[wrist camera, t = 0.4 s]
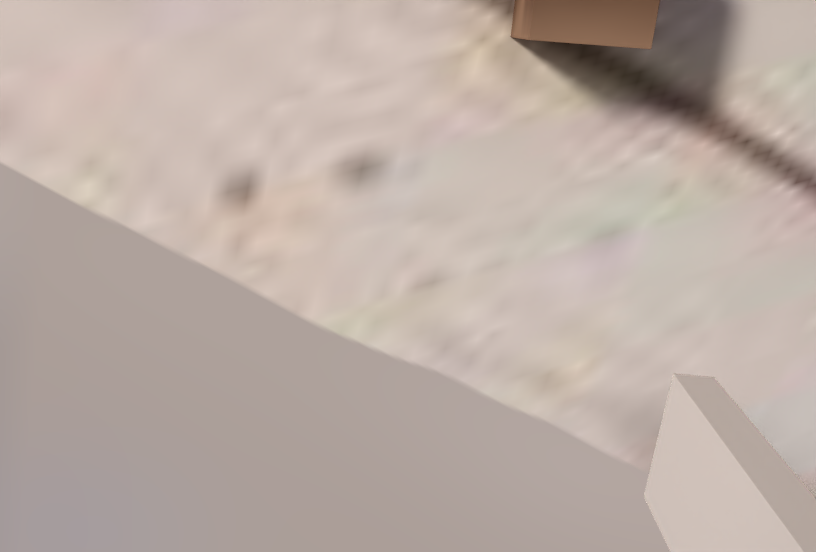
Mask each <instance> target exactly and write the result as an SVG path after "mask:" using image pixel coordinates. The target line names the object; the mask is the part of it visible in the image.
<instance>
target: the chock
mask: <svg viewBox="0 0 816 552" xmlns="http://www.w3.org/2000/svg"><path fill="white" fill-rule="evenodd" d="M659 3H660V0H515V5H514V13H513V22H512V31H511V37H514V38H520V39H526V40H536V41H549V42H563V43H576V44H589V45H602V46H616V47H629V48H642V49H651V47H652V41H653V36H654V30H655V25H656V19H657V14H658V8H659Z"/></svg>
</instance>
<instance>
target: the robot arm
mask: <svg viewBox="0 0 816 552" xmlns="http://www.w3.org/2000/svg"><path fill="white" fill-rule="evenodd" d="M644 498H645V500H646V502H647V504H648V506H649V508H650V510H651V512H652V514H653V517H654V519H655V521H656V523H657V525H658V527H659V529H660V531H661V533H662V535H663V537H664V540H665V542H666V544H667V546H668V548H669V550H670V552H816V498H815V497H814V496H813V495H812V493H811V492H810V491H809V490H808V489H807V487H806V486H805V485H804V484H803V483H802V481H801V480H800V479H799V478H798V477H797V475H796V474H795V473H794V472H793V471H792V469H791V468H790V467H789V466H788V465H787V464H786V462H785V461H784V460H783V459H782V458H781V456H780V455H779V454H778V453H777V452H776V450H775V449H774V448H773V447H772V446H771V444H770V443H769V442H768V441H767V440H766V439H765V437H764V436H763V435H762V434H761V433H760V431H759V430H758V429H757V428H756V427H755V425H754V424H753V423H752V422H751V421H750V419H749V418H748V417H747V416H746V415H745V413H744V412H743V411H742V410H741V409H740V408H739V406H738V405H737V404H736V403H735V402H734V400H733V399H732V398H731V397H730V396H729V394H728V393H727V392H726V391H725V390H724V388H723V387H722V386H721V385H720V384H719V383H718V381H717V380H716V379H715V378H714V377H708V376H696V375H685V374H673V377H672V381H671V386H670V390H669V394H668V398H667V402H666V406H665V410H664V414H663V418H662V423H661V427H660V431H659V435H658V439H657V443H656V447H655V451H654V456H653V460H652V464H651V468H650V472H649V476H648V480H647V485H646V489H645V493H644Z"/></svg>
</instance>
